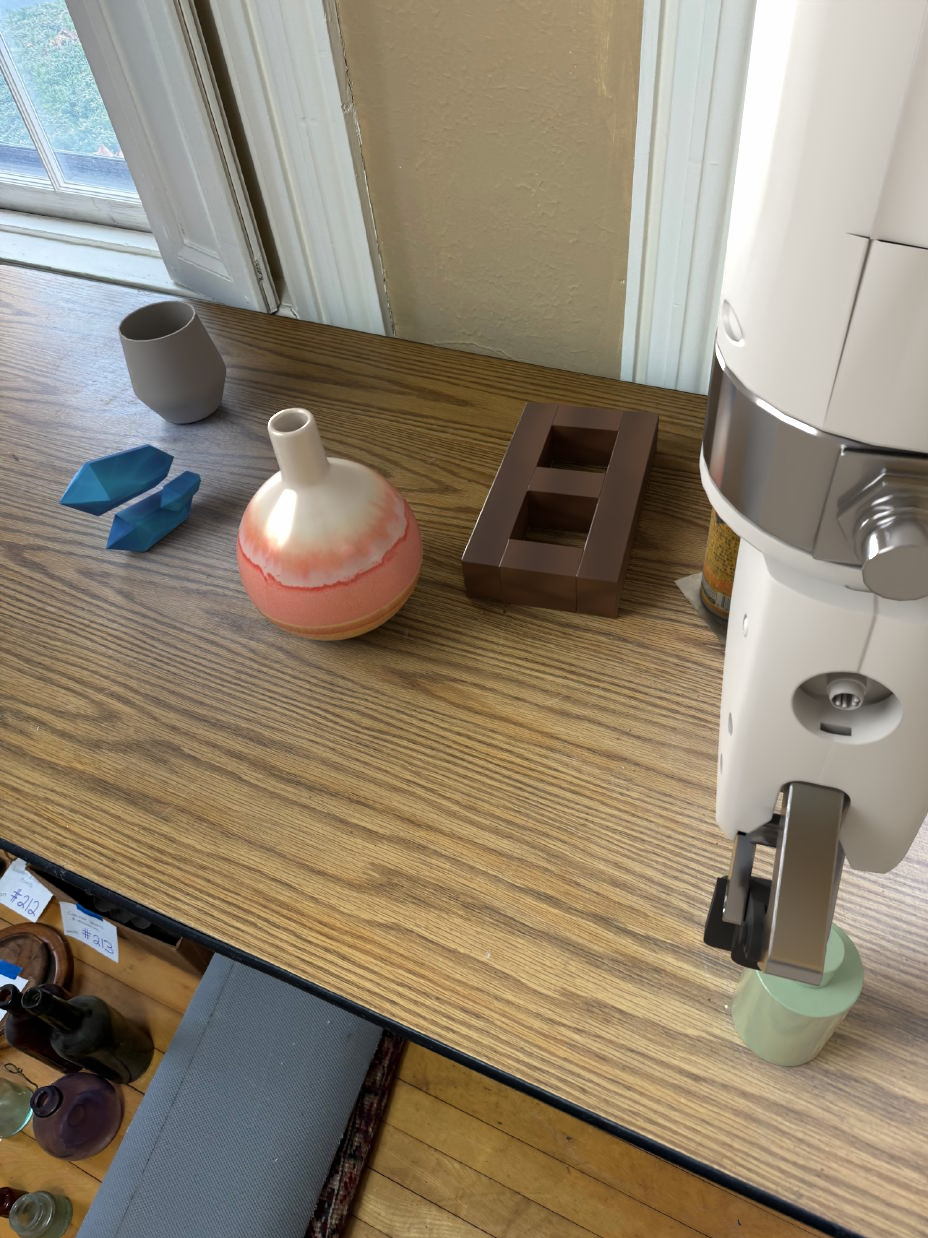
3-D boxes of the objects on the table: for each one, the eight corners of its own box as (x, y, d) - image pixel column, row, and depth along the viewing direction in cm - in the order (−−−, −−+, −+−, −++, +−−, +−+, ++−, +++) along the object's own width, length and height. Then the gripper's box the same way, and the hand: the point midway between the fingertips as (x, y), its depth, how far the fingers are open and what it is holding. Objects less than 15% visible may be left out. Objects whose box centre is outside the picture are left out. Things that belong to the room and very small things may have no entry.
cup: (248, 382, 92) (218, 294, 84) (220, 435, 85) (185, 345, 78) (167, 383, 93) (130, 296, 86) (133, 435, 87) (91, 347, 80)
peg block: (656, 450, 77) (659, 412, 74) (615, 619, 64) (617, 582, 61) (528, 438, 80) (526, 401, 77) (466, 596, 67) (460, 560, 64)
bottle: (828, 983, 46) (875, 906, 38) (825, 1079, 43) (876, 1016, 35) (735, 960, 47) (763, 881, 40) (726, 1052, 44) (755, 985, 37)
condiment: (756, 553, 67) (782, 426, 58) (823, 627, 61) (863, 499, 53) (673, 583, 66) (687, 458, 57) (733, 661, 60) (759, 536, 51)
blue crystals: (211, 443, 73) (83, 495, 65) (224, 529, 78) (108, 586, 71) (158, 416, 76) (31, 463, 69) (175, 501, 82) (59, 552, 74)
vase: (465, 578, 69) (436, 389, 55) (362, 699, 62) (301, 516, 48) (335, 526, 74) (281, 344, 61) (227, 632, 67) (140, 452, 54)
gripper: (1204, 818, 12) (880, 1111, 24) (1041, 232, 22) (875, 649, 35) (645, 718, 14) (617, 1037, 26) (741, 225, 24) (688, 622, 37)
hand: (764, 816), depth 31 cm, fingers open, 9 cm apart
